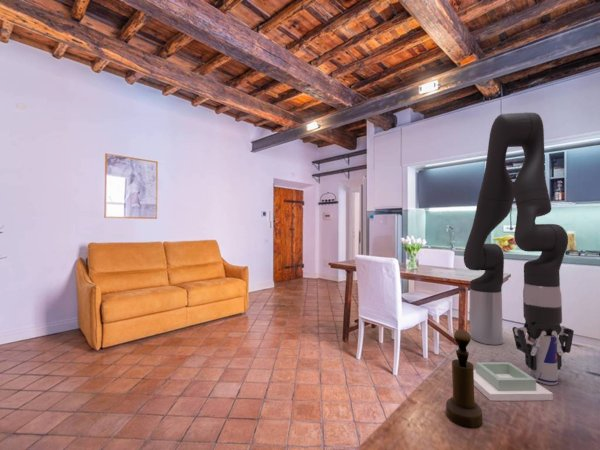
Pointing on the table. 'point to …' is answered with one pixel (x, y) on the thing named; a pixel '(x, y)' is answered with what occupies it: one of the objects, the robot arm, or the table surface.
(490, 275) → the robot arm
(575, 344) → the table surface
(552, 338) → the energy drink
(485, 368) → the baseplate
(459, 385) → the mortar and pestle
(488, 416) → the table surface
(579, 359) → the table surface
